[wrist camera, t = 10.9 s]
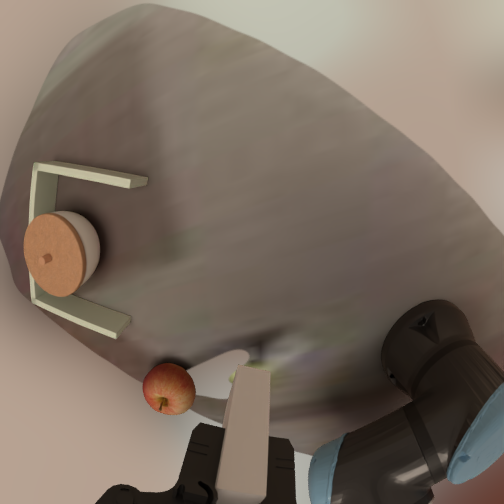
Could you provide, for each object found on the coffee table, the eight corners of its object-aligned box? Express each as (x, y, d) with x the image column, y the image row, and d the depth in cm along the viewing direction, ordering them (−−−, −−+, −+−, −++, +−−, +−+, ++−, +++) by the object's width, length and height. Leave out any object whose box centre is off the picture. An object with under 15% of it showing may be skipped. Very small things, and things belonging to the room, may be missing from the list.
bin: (148, 177, 35) (130, 179, 30) (130, 321, 41) (116, 339, 36) (55, 160, 35) (33, 162, 30) (49, 290, 41) (31, 302, 36)
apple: (180, 400, 45) (168, 434, 37) (143, 370, 43) (124, 402, 36) (211, 378, 43) (201, 414, 35) (171, 346, 41) (153, 379, 34)
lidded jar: (61, 274, 40) (24, 297, 31) (53, 205, 37) (10, 217, 28) (116, 279, 39) (81, 307, 30) (109, 203, 36) (68, 215, 27)
